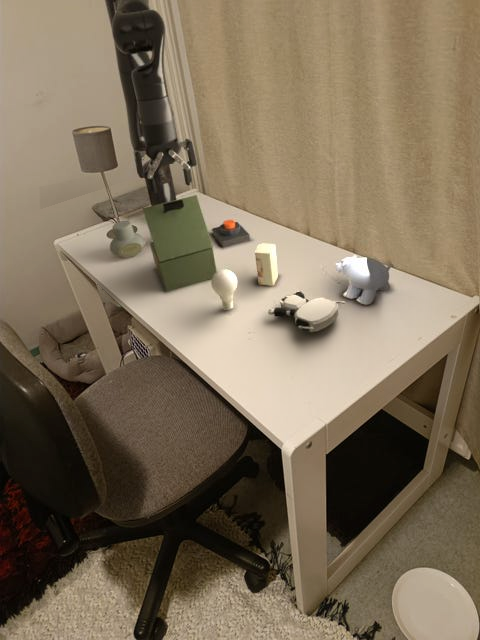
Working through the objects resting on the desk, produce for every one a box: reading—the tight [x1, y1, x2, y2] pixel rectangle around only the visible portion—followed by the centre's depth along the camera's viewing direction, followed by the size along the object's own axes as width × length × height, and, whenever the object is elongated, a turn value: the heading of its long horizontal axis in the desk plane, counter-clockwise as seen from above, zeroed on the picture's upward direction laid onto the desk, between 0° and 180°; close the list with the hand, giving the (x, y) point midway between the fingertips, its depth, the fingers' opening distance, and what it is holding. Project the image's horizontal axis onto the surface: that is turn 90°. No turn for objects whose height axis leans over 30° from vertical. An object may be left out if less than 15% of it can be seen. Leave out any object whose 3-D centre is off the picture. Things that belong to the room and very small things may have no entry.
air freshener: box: [109, 220, 146, 258], centre depth 139 cm, size 11×8×10 cm
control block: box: [211, 221, 251, 249], centre depth 141 cm, size 11×9×4 cm
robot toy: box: [267, 290, 346, 333], centre depth 103 cm, size 12×4×15 cm
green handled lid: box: [142, 194, 214, 262], centre depth 114 cm, size 15×15×5 cm
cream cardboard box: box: [254, 242, 279, 287], centre depth 116 cm, size 5×4×10 cm
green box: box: [149, 241, 218, 292], centre depth 125 cm, size 14×15×9 cm
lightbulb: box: [210, 268, 238, 311], centre depth 108 cm, size 6×6×11 cm
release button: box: [222, 219, 236, 229], centre depth 140 cm, size 4×4×2 cm
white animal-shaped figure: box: [334, 254, 394, 306], centre depth 108 cm, size 11×15×10 cm
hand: (171, 188), depth 109 cm, fingers open, 8 cm apart
